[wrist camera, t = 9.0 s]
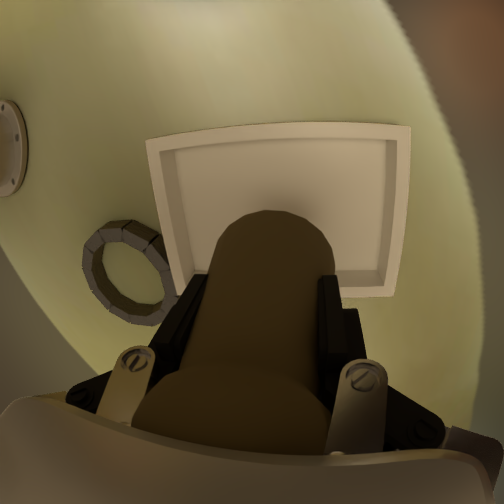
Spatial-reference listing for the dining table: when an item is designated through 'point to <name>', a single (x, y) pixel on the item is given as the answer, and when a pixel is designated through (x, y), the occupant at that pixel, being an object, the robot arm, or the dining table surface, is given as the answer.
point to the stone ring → (104, 289)
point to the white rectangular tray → (288, 192)
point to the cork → (252, 345)
